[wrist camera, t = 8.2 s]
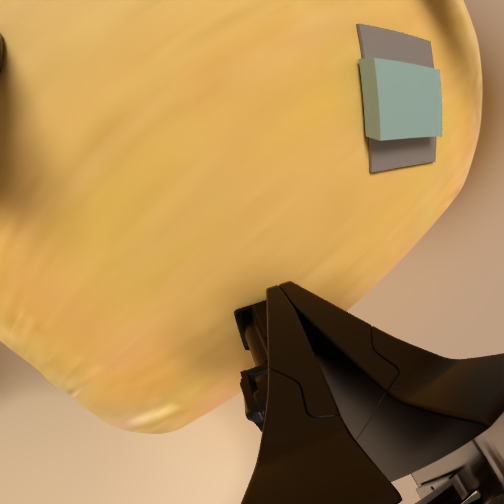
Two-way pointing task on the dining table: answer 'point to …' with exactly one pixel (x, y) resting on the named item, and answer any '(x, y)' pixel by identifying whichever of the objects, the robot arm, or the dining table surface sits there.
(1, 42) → the ink bottle
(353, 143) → the dining table surface
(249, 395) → the robot arm
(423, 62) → the mat
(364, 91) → the tile
